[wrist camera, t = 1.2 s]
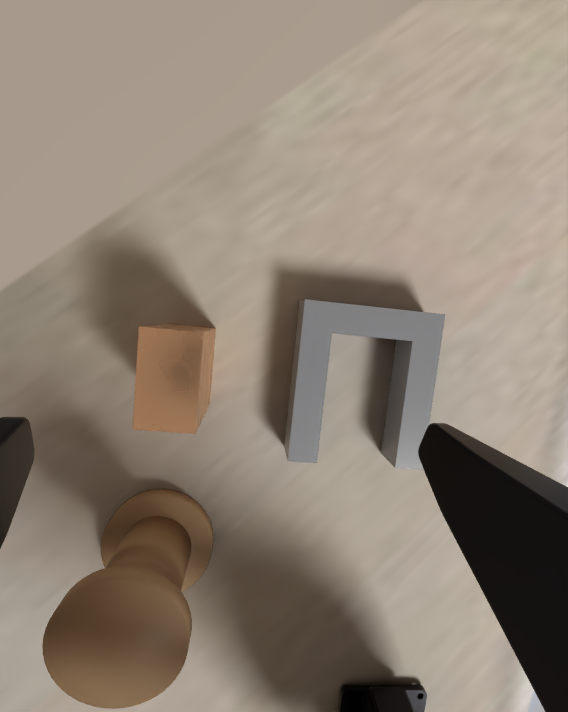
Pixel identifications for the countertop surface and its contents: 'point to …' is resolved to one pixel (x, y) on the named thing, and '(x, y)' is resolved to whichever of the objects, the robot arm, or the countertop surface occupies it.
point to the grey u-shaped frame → (408, 378)
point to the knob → (132, 604)
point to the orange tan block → (173, 377)
